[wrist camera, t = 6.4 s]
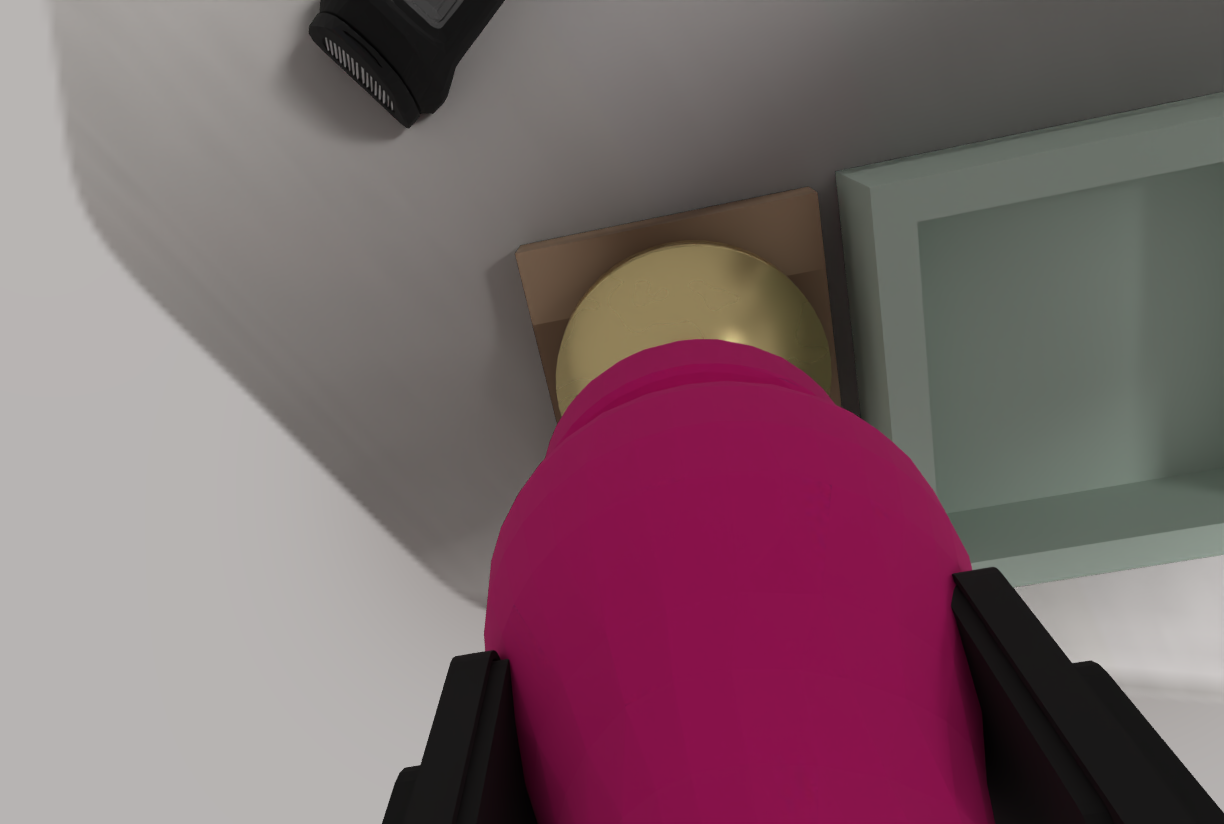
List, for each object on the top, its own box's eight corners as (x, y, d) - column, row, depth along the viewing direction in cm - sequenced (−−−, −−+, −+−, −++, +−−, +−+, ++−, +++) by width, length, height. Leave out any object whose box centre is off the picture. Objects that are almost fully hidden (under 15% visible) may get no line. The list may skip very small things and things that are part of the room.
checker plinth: (808, 186, 23) (817, 192, 21) (839, 452, 25) (848, 469, 24) (520, 245, 23) (515, 253, 22) (582, 496, 26) (579, 515, 25)
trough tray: (1288, 78, 21) (1406, 78, 18) (1254, 477, 25) (1346, 535, 22) (835, 171, 22) (869, 187, 19) (873, 539, 27) (907, 603, 23)
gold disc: (801, 208, 22) (814, 219, 20) (830, 453, 25) (844, 481, 23) (534, 262, 23) (526, 277, 21) (590, 495, 25) (587, 525, 24)
